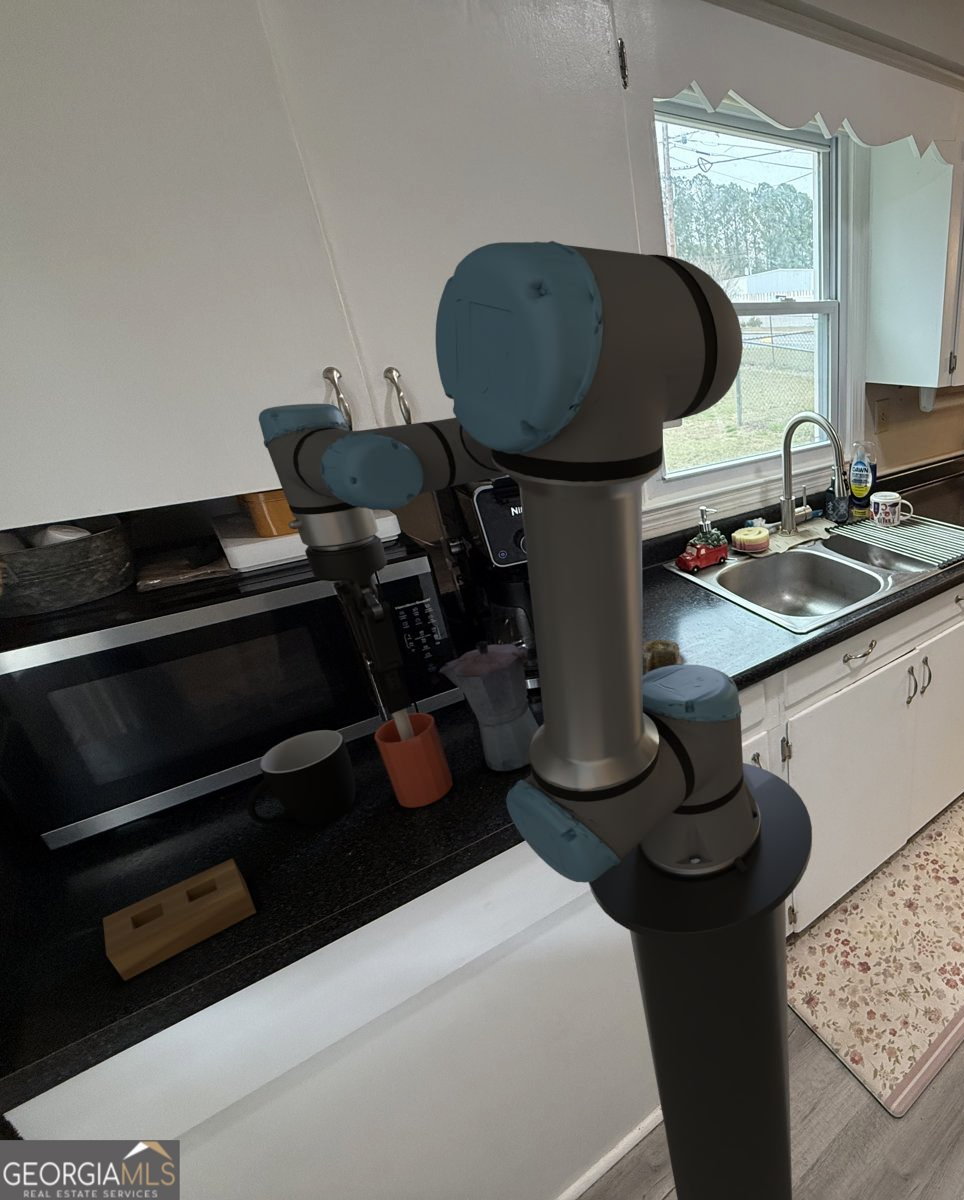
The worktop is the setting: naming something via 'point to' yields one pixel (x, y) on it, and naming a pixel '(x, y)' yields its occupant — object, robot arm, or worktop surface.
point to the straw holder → (176, 919)
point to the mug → (307, 778)
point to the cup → (415, 761)
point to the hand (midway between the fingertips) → (397, 705)
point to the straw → (403, 725)
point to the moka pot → (498, 700)
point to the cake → (660, 655)
